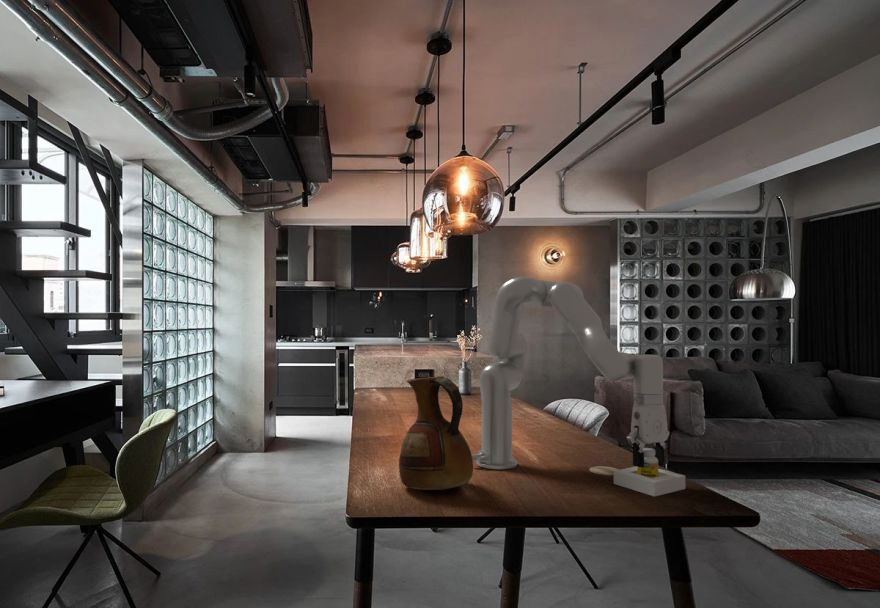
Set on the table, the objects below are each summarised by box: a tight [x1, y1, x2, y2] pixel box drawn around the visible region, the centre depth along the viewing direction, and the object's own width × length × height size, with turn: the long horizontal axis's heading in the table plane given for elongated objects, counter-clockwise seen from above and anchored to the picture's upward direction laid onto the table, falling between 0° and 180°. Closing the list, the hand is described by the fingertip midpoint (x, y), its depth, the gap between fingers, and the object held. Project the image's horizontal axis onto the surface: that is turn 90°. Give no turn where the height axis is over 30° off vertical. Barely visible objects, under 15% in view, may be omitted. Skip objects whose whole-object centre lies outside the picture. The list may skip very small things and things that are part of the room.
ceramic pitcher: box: [398, 375, 474, 491], centre depth 144 cm, size 20×20×30 cm
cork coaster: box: [589, 465, 620, 476], centre depth 162 cm, size 9×9×1 cm
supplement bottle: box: [637, 447, 659, 478], centre depth 147 cm, size 5×5×10 cm
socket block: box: [613, 466, 686, 497], centre depth 147 cm, size 13×13×4 cm
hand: (648, 464), depth 147 cm, fingers open, 8 cm apart
